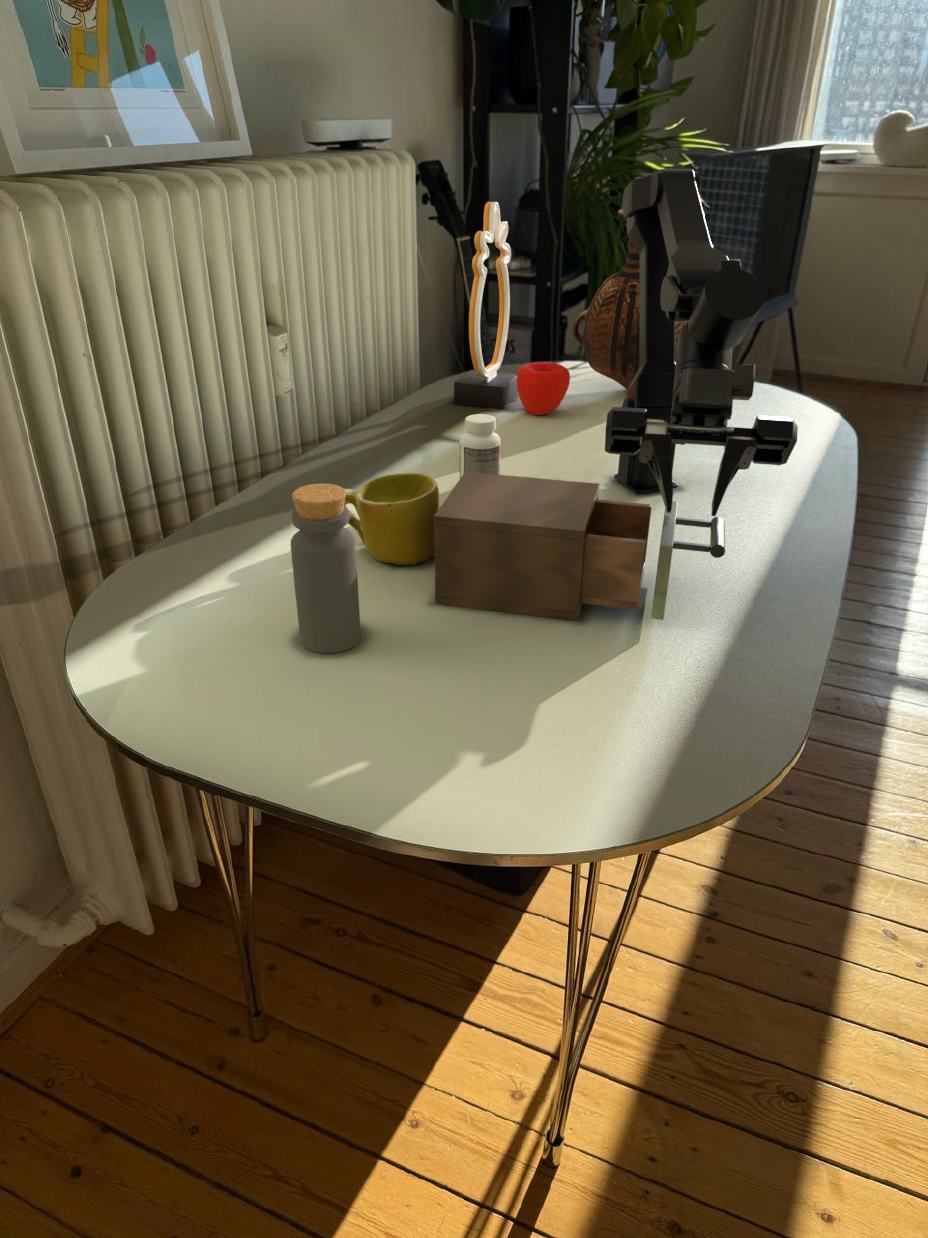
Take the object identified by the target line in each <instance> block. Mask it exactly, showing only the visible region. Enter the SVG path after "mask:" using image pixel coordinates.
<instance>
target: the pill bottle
mask: <svg viewBox="0 0 928 1238" xmlns="http://www.w3.org/2000/svg"><path fill="white" fill-rule="evenodd" d="M496 428H497V418H496V417H495V416H493V415H491V414H484V413H478V414H475V413H474V414H471V415H468V416H466V417H465V419H464V430H465V432H464V433H463V434H461V435H460V437H459V479H460V478H461V477H462V476H463V474H464V473H465V472H475V473H486V474H497V475H501V437H500V435H499V434H498V433H496V432H495V431H496Z"/></svg>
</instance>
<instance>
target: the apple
mask: <svg viewBox="0 0 928 1238" xmlns="http://www.w3.org/2000/svg"><path fill="white" fill-rule="evenodd" d="M516 375H517V390H518V397H519V400H520V403H521V405H522V406H523V408H524V409H525V411H526V412H527V413H529V414H531V415H533V416H534V415H535V416H541V415H542V416H543V415H547V414H551V413H553V412H555V410H556V409H557V408H559V406H560V405H561V403H562V401H563V399H564V398H565V396H566V394H567V392H568V389H569V387H570V382H571V373H570V371H569V369H568V368H567V367H565V366H564V365H562V364H560V363H556V362H551V361H539V362H538V361H535V362H531V363H527V364H524V365H522V366H519V369H518V371H517V374H516Z"/></svg>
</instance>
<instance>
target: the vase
mask: <svg viewBox="0 0 928 1238" xmlns="http://www.w3.org/2000/svg"><path fill="white" fill-rule="evenodd" d="M616 214H617V219H618V221H620V222H626V223H627V217H624V216H623V208H621V209H618V210H617V212H616ZM628 238H629V237H628ZM583 320H584V328H583V335H582V334H580V332H579V331H580V329H579V327H580V324H581V322H582V321H583ZM639 323H640V255H639V253H638V251H637V250H636V248H635V246H634V245H633V243H632V242H631V240H630V238H629V241H628V253H627V258H626V261H625V264H624V265H623V267H622V268H621V269H620V270H618V272H616V273H614V274H612V275H610V276H609V277H607V279H605V280H604V281H603V282H602V283H601V285H600V286H599V288H598V289H597V292H596V293H595V294H594V297H593V299H592V300H591V303H590V304H589V307H588V308H587V309H585V310H584V311H583V312H581V313H579V315H578V316H577V317H576V318H575V320H574V323H573V325H572V326H573V327H572V333H573V338H574V340H575V341H576V343H578V345H580V346H581V347H582V348H583V352H584V356H585V359H586V362H587V363H588V365H589V367H590V368H591V369H592V370H593V371H594V372H596V373H598V374H600V375H602V376H603V377H606V378H608V379H611V380H612V381H614V382H616V383H617V384H619V385H620V386H622V387H623V388H624V389H625V390H627V389H628V387H629V385H630V384H631V382H632V380H633V378H634V377H635V375H636V373H637V372H638V370H639ZM687 324H688V322H675V363H676V354H677V343H678V334H679V332H680V330H681V329H682V328H683V327H684V326H685V325H687Z"/></svg>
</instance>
